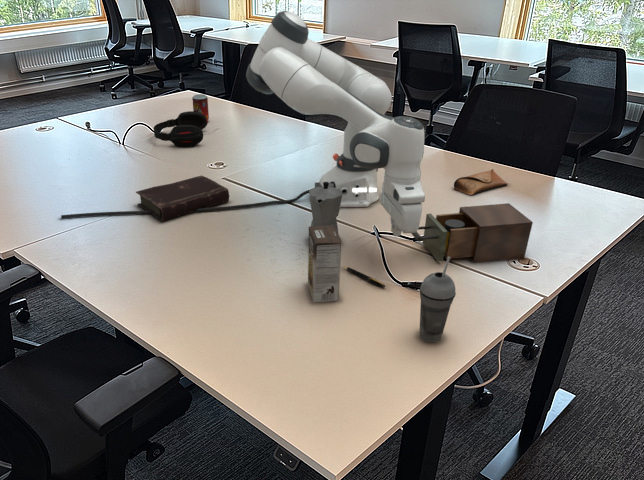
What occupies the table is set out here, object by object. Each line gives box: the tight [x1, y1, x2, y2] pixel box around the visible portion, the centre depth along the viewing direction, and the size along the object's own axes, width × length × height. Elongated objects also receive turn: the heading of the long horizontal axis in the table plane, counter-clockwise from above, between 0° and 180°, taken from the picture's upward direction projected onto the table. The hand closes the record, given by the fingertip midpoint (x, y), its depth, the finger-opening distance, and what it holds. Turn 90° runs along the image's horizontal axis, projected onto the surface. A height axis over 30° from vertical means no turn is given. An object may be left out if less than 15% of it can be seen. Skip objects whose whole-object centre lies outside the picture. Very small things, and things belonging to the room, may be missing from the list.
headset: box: [153, 110, 218, 148], centre depth 253 cm, size 28×26×9 cm
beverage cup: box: [419, 256, 457, 344], centre depth 123 cm, size 7×7×20 cm
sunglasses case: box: [453, 169, 509, 196], centre depth 199 cm, size 18×7×7 cm, turn 120°
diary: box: [135, 175, 230, 222], centre depth 193 cm, size 19×25×5 cm
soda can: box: [191, 93, 210, 121], centre depth 275 cm, size 7×7×12 cm
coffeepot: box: [308, 181, 343, 241], centre depth 164 cm, size 15×9×18 cm, turn 159°
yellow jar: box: [444, 219, 465, 250], centre depth 157 cm, size 5×5×7 cm
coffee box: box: [307, 225, 343, 303], centre depth 140 cm, size 9×6×16 cm
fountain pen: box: [343, 266, 386, 288], centre depth 150 cm, size 14×1×2 cm, turn 39°
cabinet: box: [458, 202, 534, 264], centre depth 158 cm, size 14×13×11 cm
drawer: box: [410, 212, 479, 263], centre depth 157 cm, size 19×11×9 cm, turn 97°
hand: (395, 234), depth 155 cm, fingers closed
